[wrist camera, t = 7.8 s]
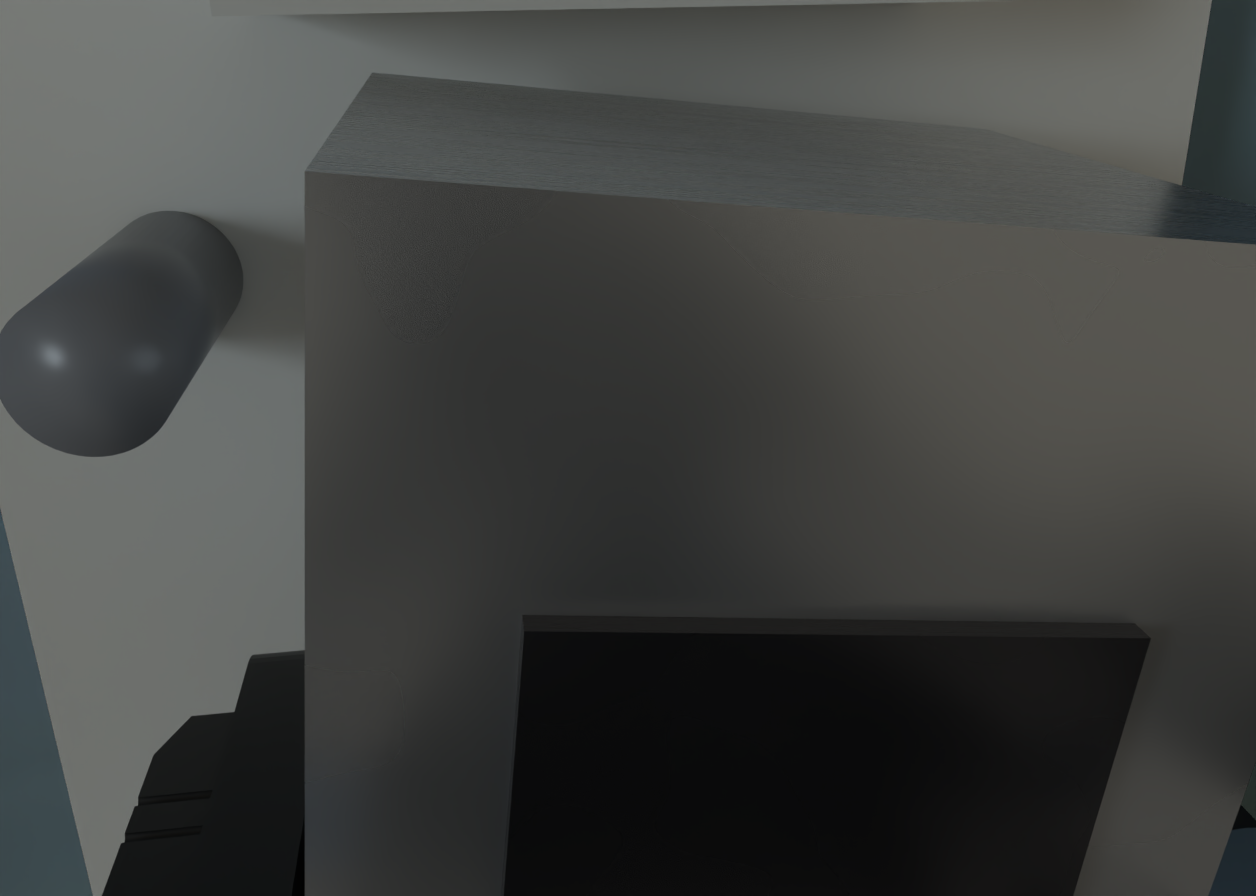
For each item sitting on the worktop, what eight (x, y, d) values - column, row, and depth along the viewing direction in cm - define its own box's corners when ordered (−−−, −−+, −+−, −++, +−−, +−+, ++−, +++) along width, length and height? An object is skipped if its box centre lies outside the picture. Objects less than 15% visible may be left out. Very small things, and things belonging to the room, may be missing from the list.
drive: (372, 71, 9) (301, 178, 5) (984, 128, 10) (1462, 266, 5) (352, 1085, 13) (301, 1708, 8) (793, 1063, 14) (969, 1610, 9)
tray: (-117, -199, 10) (-440, -300, 6) (1182, -195, 12) (1526, -276, 8) (180, 1123, 16) (102, 1464, 12) (1007, 1009, 18) (1157, 1281, 14)
